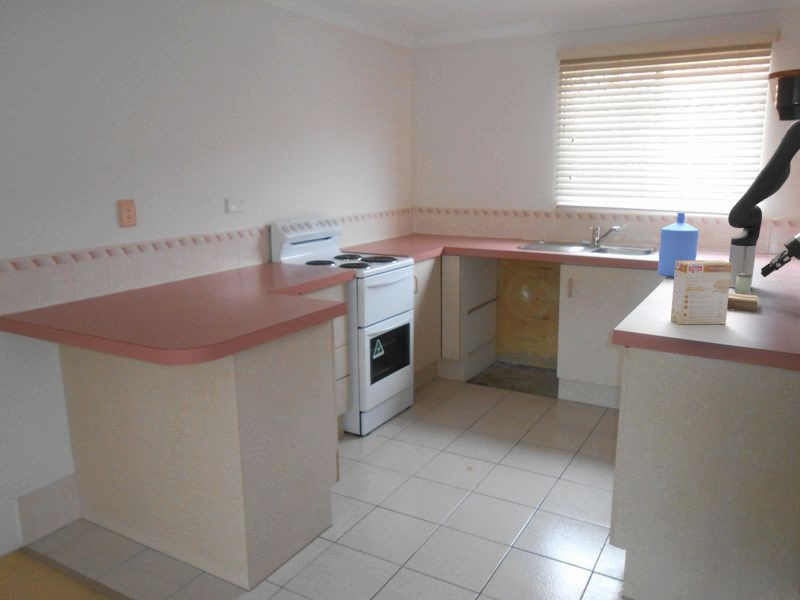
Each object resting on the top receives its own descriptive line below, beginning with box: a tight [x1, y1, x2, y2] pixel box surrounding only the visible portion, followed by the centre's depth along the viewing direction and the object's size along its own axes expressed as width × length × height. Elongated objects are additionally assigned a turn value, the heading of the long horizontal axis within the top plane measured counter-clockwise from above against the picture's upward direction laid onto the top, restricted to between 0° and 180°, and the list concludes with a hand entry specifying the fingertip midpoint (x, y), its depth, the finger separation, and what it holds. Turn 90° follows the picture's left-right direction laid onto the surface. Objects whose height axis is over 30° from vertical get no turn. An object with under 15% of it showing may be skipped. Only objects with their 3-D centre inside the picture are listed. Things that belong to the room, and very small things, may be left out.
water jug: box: [657, 212, 699, 278], centre depth 296 cm, size 16×16×28 cm
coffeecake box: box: [670, 259, 732, 325], centre depth 207 cm, size 15×7×20 cm, turn 92°
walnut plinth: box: [727, 292, 758, 313], centre depth 230 cm, size 10×10×4 cm
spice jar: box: [734, 273, 752, 295], centre depth 241 cm, size 5×5×10 cm
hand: (762, 273), depth 238 cm, fingers open, 8 cm apart
